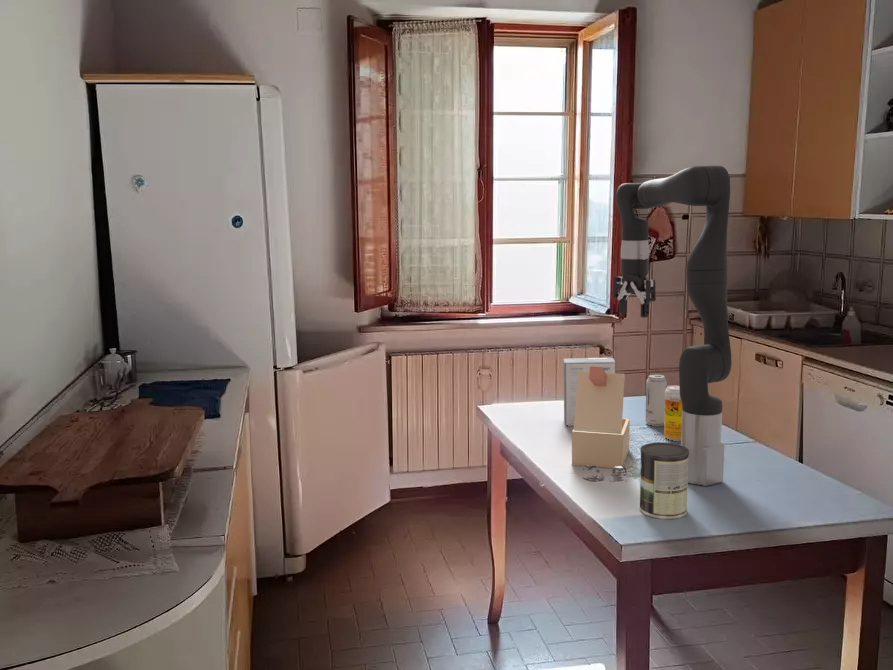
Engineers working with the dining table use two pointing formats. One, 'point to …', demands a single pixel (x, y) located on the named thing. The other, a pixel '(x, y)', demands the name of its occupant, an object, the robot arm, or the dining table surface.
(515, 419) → the dining table surface
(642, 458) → the coffee can
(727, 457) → the dining table surface
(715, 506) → the dining table surface
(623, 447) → the carton
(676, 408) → the beer can
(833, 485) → the dining table surface
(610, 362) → the hard drive box
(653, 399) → the energy drink can
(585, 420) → the flap
